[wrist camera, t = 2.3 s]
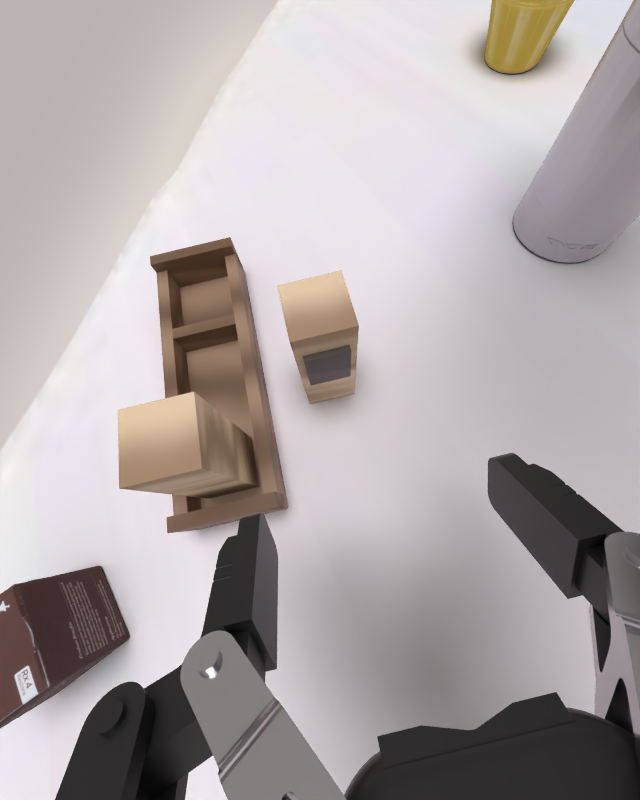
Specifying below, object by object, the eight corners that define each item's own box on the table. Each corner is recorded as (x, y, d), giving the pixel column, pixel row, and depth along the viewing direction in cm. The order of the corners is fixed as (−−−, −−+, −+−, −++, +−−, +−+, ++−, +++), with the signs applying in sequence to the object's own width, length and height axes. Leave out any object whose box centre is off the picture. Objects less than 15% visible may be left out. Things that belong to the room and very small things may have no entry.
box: (31, 611, 25) (-88, 649, 18) (103, 562, 26) (14, 580, 19) (57, 694, 23) (-65, 771, 16) (133, 638, 24) (47, 689, 17)
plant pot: (452, 53, 44) (481, -71, 34) (518, 26, 44) (563, -102, 35) (500, 94, 40) (546, -30, 31) (570, 65, 41) (636, -66, 32)
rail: (174, 288, 34) (89, 176, 23) (244, 271, 34) (194, 151, 23) (196, 529, 26) (82, 542, 15) (288, 507, 26) (244, 503, 15)
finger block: (300, 364, 30) (277, 285, 20) (342, 353, 30) (341, 270, 20) (310, 408, 29) (291, 348, 18) (355, 397, 29) (360, 331, 18)
